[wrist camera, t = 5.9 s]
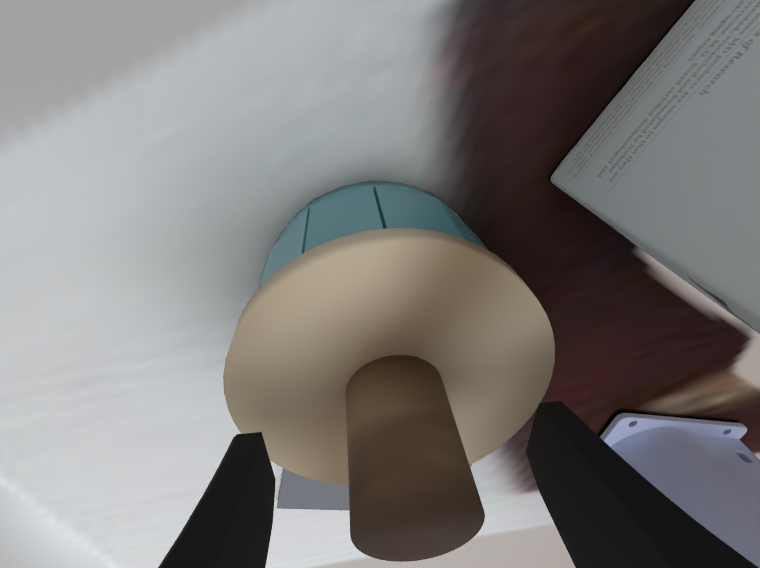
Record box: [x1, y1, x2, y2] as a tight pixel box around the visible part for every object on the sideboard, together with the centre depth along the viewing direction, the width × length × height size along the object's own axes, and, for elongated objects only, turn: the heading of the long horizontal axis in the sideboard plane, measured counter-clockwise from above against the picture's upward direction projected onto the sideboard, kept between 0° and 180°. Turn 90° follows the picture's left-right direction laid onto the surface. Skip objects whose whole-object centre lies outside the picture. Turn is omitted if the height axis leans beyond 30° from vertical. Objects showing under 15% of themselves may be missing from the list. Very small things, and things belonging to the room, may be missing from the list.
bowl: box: [258, 182, 487, 289], centre depth 15 cm, size 9×9×5 cm
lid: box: [223, 228, 555, 562], centre depth 11 cm, size 10×10×5 cm
